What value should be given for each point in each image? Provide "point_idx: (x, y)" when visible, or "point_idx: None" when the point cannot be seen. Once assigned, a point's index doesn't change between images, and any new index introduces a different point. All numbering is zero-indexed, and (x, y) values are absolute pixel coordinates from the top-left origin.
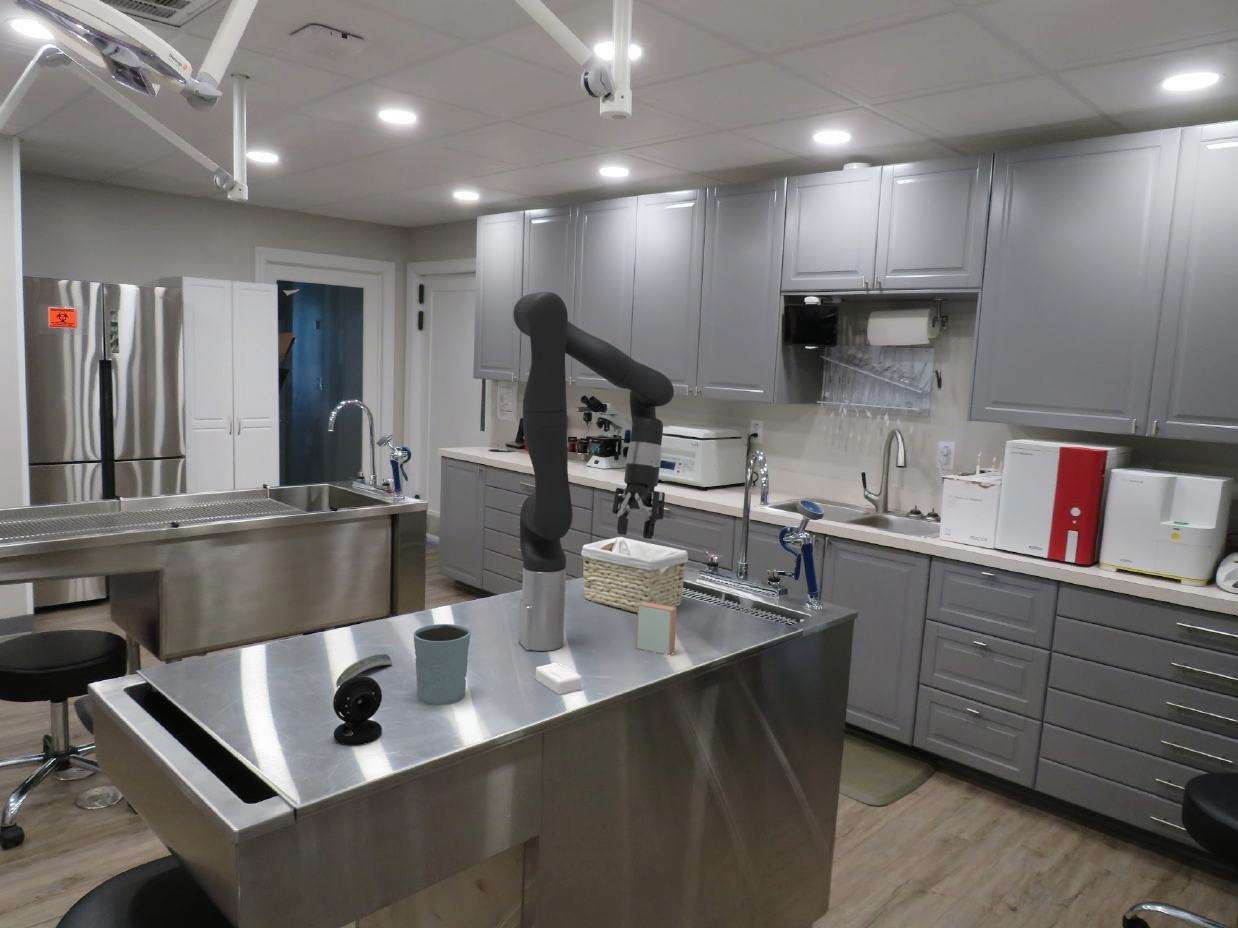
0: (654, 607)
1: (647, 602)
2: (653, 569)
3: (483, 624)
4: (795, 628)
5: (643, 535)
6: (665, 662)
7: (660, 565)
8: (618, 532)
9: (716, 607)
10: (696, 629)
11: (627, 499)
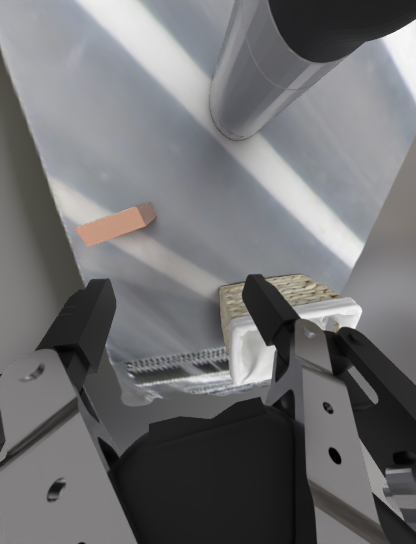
0: (106, 217)
1: (136, 228)
2: (229, 323)
3: (352, 96)
4: (116, 361)
5: (101, 281)
6: (88, 194)
7: (229, 337)
8: (255, 274)
9: (198, 347)
10: (163, 298)
11: (332, 497)
